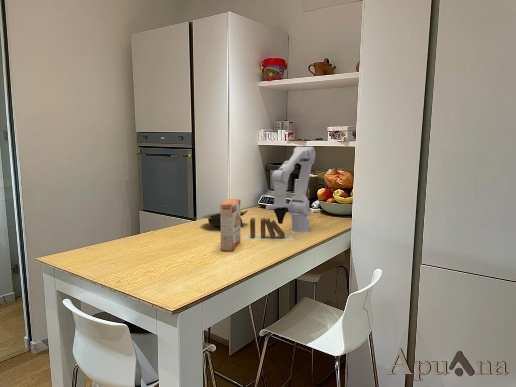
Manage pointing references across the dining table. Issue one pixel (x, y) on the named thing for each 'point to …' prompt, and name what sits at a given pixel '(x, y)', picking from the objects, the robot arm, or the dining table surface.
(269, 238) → the mat
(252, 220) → the brown wooden block
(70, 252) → the dining table surface
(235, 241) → the cracker box
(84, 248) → the dining table surface
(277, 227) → the tile
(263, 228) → the brown wooden block
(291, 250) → the dining table surface
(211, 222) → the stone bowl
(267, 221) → the brown wooden block
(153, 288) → the dining table surface
